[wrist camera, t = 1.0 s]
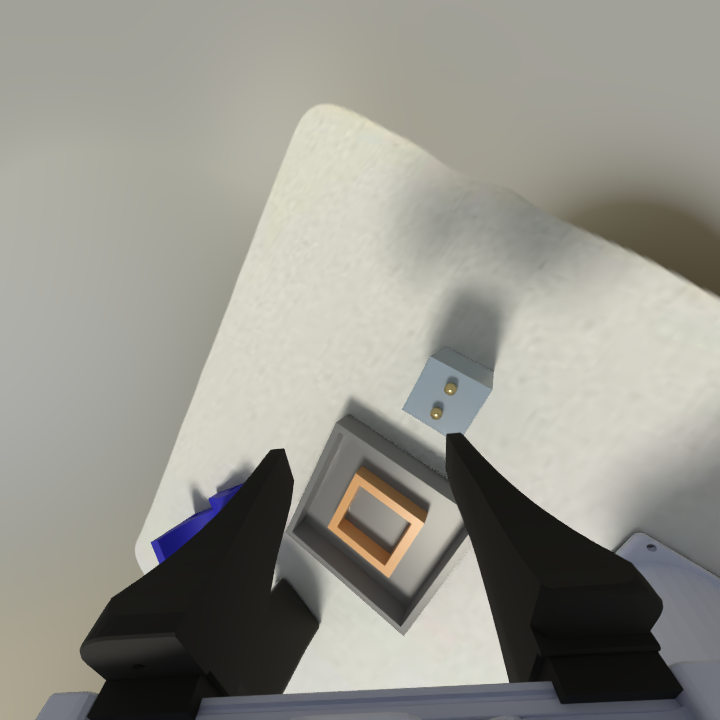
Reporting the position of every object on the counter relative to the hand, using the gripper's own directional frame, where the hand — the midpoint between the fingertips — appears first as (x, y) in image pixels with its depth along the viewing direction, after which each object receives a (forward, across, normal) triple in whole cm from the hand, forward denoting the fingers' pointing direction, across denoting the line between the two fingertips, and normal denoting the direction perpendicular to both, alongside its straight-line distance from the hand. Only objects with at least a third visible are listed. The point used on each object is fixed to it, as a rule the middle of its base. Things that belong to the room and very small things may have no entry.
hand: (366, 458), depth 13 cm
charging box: (+9, 0, +16) cm, 19 cm away
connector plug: (+11, -7, +3) cm, 14 cm away
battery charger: (+9, +12, +31) cm, 34 cm away
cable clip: (+16, +20, +22) cm, 34 cm away
